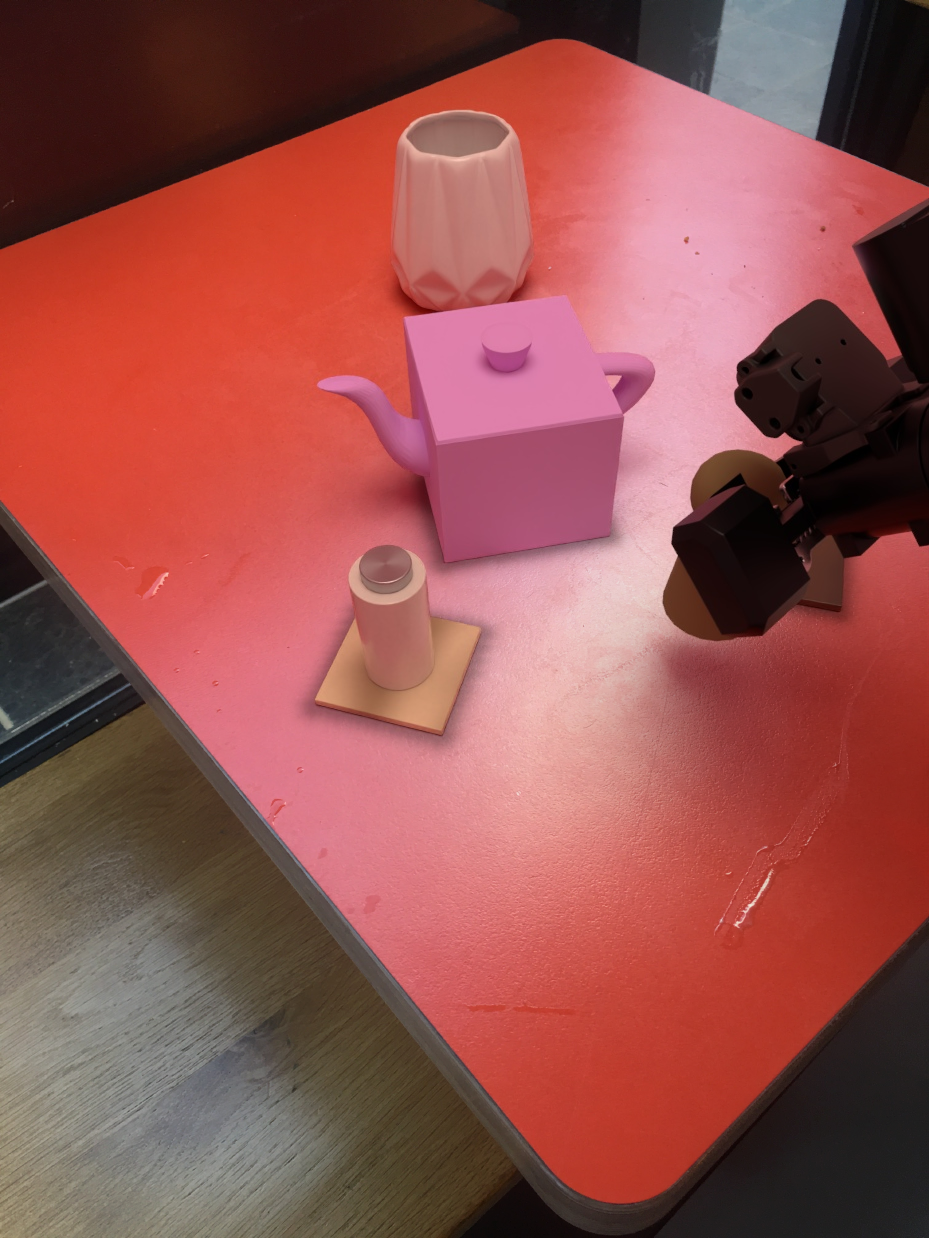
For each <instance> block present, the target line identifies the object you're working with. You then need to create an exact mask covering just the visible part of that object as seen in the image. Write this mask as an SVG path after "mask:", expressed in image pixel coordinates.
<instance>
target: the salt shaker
mask: <svg viewBox="0 0 929 1238" xmlns="http://www.w3.org/2000/svg"><path fill="white" fill-rule="evenodd" d="M347 582H348V587H349V592H350V593H349V594H350V598H351V603H352V608H353V613H354V619H355V618H356V623H357V628H358V633H359V638H360V643H361V648H362V653H363V659H364V664H365V669H366V672H367V674H368V676H369V677H370V679H371V680H372V681H373V682H374V683H376V684H377V685H379V686H380V687H383V688H386V689H389V690H406V689H410V688H413V687H415V686H417V685H419V684H421V683H422V682H423V681H425V680H426V679H427V678H428V677H429V675H430V674H431V672H432V670H433V667H434V663H435V657H434V647H433V637H432V626H431V607H430V597H429V588H428V587H429V586H428V578H427V569H426V566H425V564H424V562H423V560H422V559H421V558H420V557H419V556H418V555H417V554H416V553H414V552H413V551H411V550H408V549H407V548H403V547H400V546H397V545H394V544H393V545H392V544H382V545H377V546H375V547H372V548H370V549H369V550H368V551H366V552H365V553H363V554H362V555H360V556H359V557H357V559H356V560H355V561H354V562H353V563H352V565H351V567H350V568H349V571H348V575H347Z"/></svg>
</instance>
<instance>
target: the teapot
mask: <svg viewBox="0 0 929 1238" xmlns="http://www.w3.org/2000/svg"><path fill="white" fill-rule="evenodd" d="M402 324H403V331H404V332H403V336H404V343H405V355H406V364H407V376H408V385H409V387H408V388H409V396H410V405H411V417H408V416H404V415H402V414H400V413H399V412H398V411H397V410H396V409H395V408H394V406H393V405H392V403H391V402H390V400H389V397H387V395H386V394H385V392H384V391H383V390H382V389H381V387H380V386H379V385H378V384H377V383H375V382H373V380H372V381H371V380H370V379H367V378H366V377H362V376H358V375H347V374H346V375H335V376H331V377H326V378H323V379H321V380H320V381H318V382H317V383H316V386H317V388H318V389H320V390H321V391H323V392H327V393H331V394H334V395H337V396H341V397H344V398H346V399H348V400H349V401H351V402H352V403H354V404H355V405H357V406H358V408H360V410H362V412H363V413H364V415H365V416H366V418H367V419H368V421H369V423H370V424H371V425H370V426H372V428H373V430H374V432H375V435H376V436H377V438H378V440H379V442H380V444H381V445H382V447H383V449H384V450H385V452H386V453H387V455H388V456H389V457H390V458H391V460H392V461H393V462H395V463H396V464H397V465H399V467H401V468H402V469H404V470H406V471H409V472H410V473H411V474H415V475H417V476H420V477H421V476H422V477H423V479H424V482H425V487H426V491H427V494H428V499H429V504H430V507H431V511H432V517H433V519H434V524H435V528H436V532H437V536H438V539H439V543H440V548H441V552H442V556H443V560H444V563H445V564H448V563H452V562H453V563H454V562H460V561H464V560H472V559H478V558H483V557H490V556H495V555H502V554H508V553H514V552H520V551H527V550H533V549H539V548H545V547H551V546H556V545H564V544H569V543H575V542H581V541H588V540H593V539H600V538H606V537H610V535H611V528H612V521H613V512H614V504H615V495H616V487H617V479H618V472H619V463H620V456H621V447H622V438H623V431H624V424H625V423H624V422H625V414H626V413H627V412H629V411H630V410H631V409H632V408H634V406H635V405H636V404H637V403H638V402H640V400H641V399H642V398H643V397H644V396H645V394H647V392H648V391H649V389H650V388H651V386H652V384H653V383H654V381H655V377H656V368H655V365H654V363H653V362H652V361H651V360H650V359H649V358H648V357H646V356H644V355H642V354H640V353H639V354H638V353H633V352H624V351H621V352H620V351H618V352H617V351H614V352H613V351H612V352H609V351H608V352H607V351H606V352H596V353H595V351H594V348H593V347H592V344H591V343H590V340H589V338H588V336H587V334H586V332H585V330H584V328H583V326H582V324H581V322H580V320H579V318H578V315H577V314H576V311H575V310H574V308H573V306H572V304H571V302H570V300H569V298H568V296H567V294H562V295H554V296H548V297H542V298H533V299H532V298H531V299H526V300H519V301H508V302H506V303H501V304H494V305H487V306H480V307H473V308H466V309H459V310H452V311H445V312H439V311H437V312H432V313H425V314H418V315H410V316H409V315H408V316H404V317H403V318H402ZM607 376H619V377H620V379H619V380H618V382H617V383H616V384H615V386H614V387H613V388H612V386H611V385H610V383H609V381H608V378H607Z"/></svg>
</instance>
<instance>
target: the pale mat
mask: <svg viewBox="0 0 929 1238" xmlns="http://www.w3.org/2000/svg"><path fill="white" fill-rule="evenodd" d="M430 616H431V615H430ZM431 626H432V637H433V647H434V657H435V663H434V667H433V670H432V672H431V674H430V675H429V677H428V678H427V679H426V680H425V681H423V682H422V683H421V684H419V685H417V686H415V687H413V688H410V689H406V690H389V689H386V688H383V687H380V686H379V685H377V684H376V683H374V682H373V681H372V680H371V679H370V677H369V676H368V674H367V672H366V669H365V664H364V659H363V653H362V648H361V643H360V638H359V633H358V628H357V623H356V618H355V617H354V619H353V621H352V623H351V625H350V626H349V629H348V631H347V633H346V635H345V637H344V639H343V641H342V643H341V644H340V646H339V649H338V651H337V653H336V655H335V657H334V659H333V662H332V663H331V664H330V665H331V666H330V667H329V669H328V671H327V674H326V676H325V677H324V679H323V682H322V684H321V686H320V687H319V690H318V692H317V694H316V696H315V697H314V702H315V705H318V706H322V707H326V708H331V709H334V710H338V711H341V712H346V713H350V714H354V715H358V716H362V717H366V718H370V719H375V720H378V721H382V722H387V723H390V724H393V725H394V724H395V725H399V726H403V727H405V728H411V729H415V730H418V731H423V732H427V733H431V734H435V735H439V736H442V735H443V734H444V731H445V729H446V726H447V724H448V721H449V718H450V716H451V713H452V711H453V707H454V705H455V703H456V700H457V698H458V694H459V692H460V690H461V687H462V684H463V682H464V679H465V676H466V673H467V671H468V669H469V666H470V664H471V660H472V658H473V655H474V652H475V649H476V648H477V644H478V642H479V639H480V637H481V634H482V626H478V625H472V624H468V623H463V622H458V621H455V620H450V619H445V618H440V617H436V616H431Z"/></svg>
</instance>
